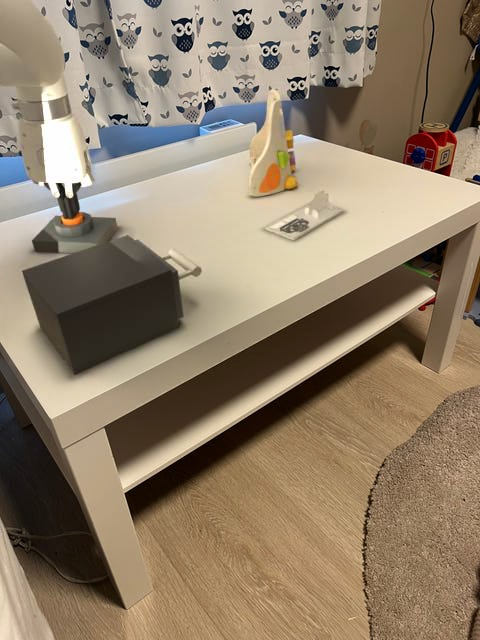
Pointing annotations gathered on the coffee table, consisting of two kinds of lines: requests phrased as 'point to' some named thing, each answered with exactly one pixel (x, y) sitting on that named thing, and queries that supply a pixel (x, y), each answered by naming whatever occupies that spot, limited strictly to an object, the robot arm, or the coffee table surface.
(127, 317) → the drawer box
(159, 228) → the coffee table surface
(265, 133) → the shape sorter
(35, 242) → the control block
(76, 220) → the button
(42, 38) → the robot arm
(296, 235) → the white stand base
